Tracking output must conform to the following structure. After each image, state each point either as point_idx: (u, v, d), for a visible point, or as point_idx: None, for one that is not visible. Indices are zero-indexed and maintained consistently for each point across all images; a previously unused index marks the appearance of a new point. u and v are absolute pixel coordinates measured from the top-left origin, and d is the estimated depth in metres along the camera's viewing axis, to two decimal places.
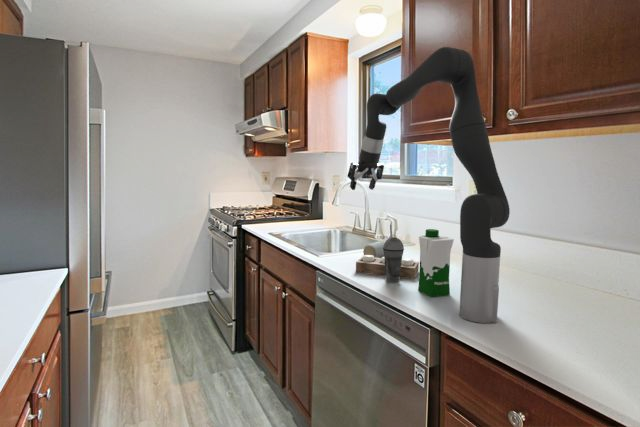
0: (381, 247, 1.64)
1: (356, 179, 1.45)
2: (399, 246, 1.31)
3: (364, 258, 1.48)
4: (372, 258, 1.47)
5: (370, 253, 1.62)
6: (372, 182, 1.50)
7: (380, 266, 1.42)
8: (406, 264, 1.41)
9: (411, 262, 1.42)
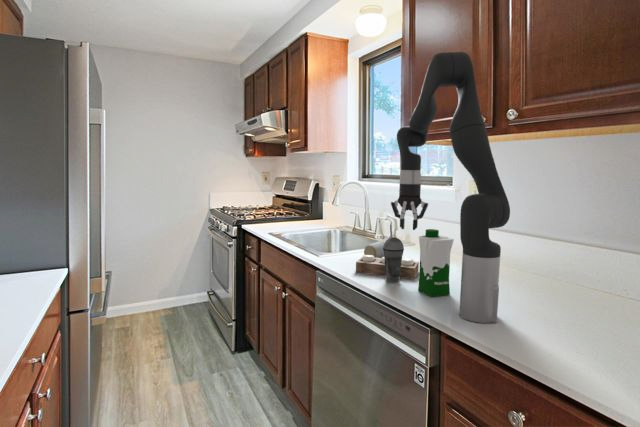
0: (382, 247, 1.63)
1: (402, 216, 1.41)
2: (399, 246, 1.31)
3: (364, 258, 1.48)
4: (372, 258, 1.47)
5: (371, 253, 1.62)
6: (413, 221, 1.41)
7: (380, 266, 1.42)
8: (406, 264, 1.41)
9: (411, 262, 1.42)
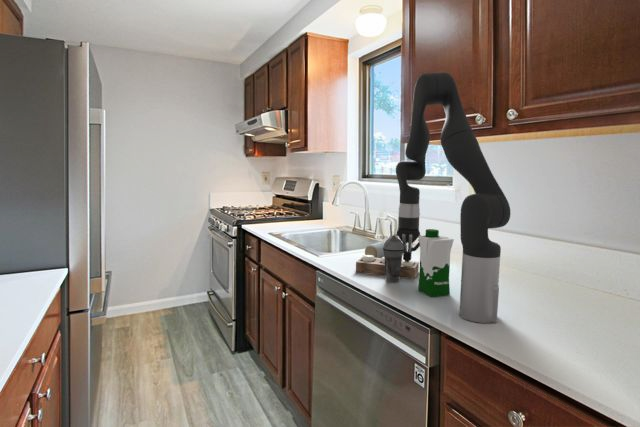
0: (382, 247, 1.63)
1: (405, 249, 1.42)
2: (399, 246, 1.31)
3: (364, 258, 1.48)
4: (372, 258, 1.47)
5: (371, 253, 1.62)
6: None
7: (380, 266, 1.42)
8: None
9: (411, 264, 1.42)
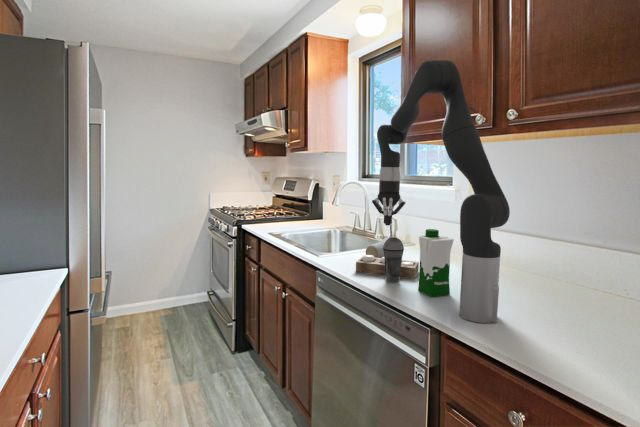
0: None
1: (385, 213, 1.44)
2: (399, 246, 1.31)
3: (364, 258, 1.48)
4: (372, 258, 1.47)
5: (372, 254, 1.61)
6: None
7: (380, 266, 1.42)
8: None
9: (411, 265, 1.42)
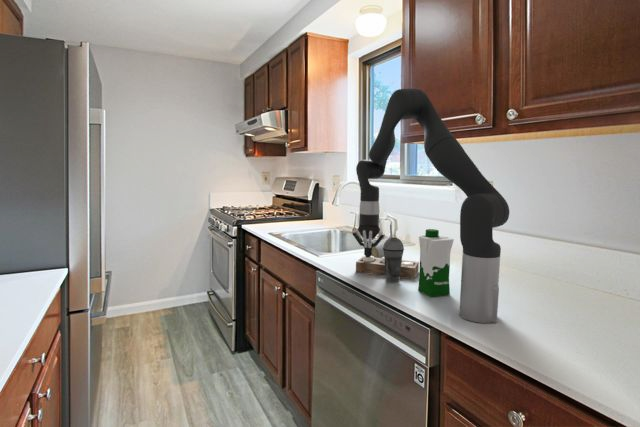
0: None
1: (366, 245, 1.48)
2: (399, 246, 1.31)
3: (364, 259, 1.48)
4: (372, 259, 1.47)
5: (373, 254, 1.61)
6: None
7: (380, 266, 1.42)
8: None
9: (411, 265, 1.42)
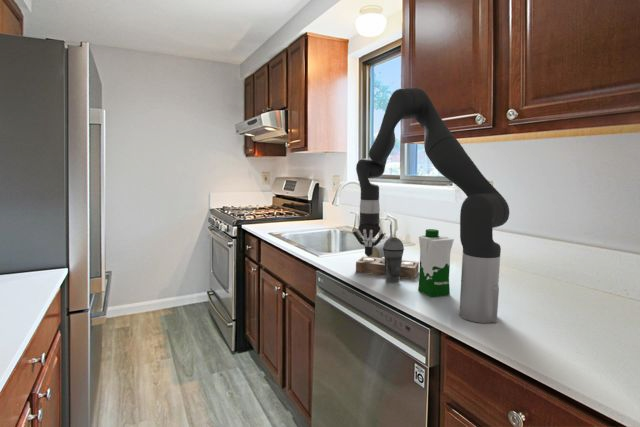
0: None
1: (366, 244, 1.47)
2: (399, 246, 1.31)
3: None
4: (372, 261, 1.48)
5: (373, 254, 1.61)
6: None
7: (380, 266, 1.42)
8: None
9: (411, 265, 1.42)
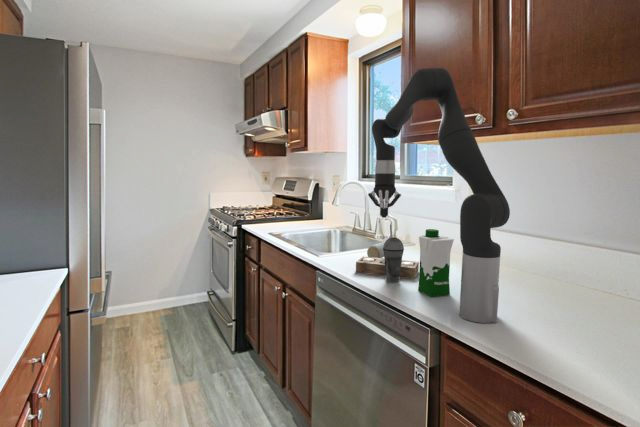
0: None
1: (382, 205, 1.47)
2: (399, 246, 1.31)
3: None
4: (372, 261, 1.48)
5: (374, 254, 1.61)
6: None
7: (380, 266, 1.42)
8: None
9: (411, 265, 1.42)
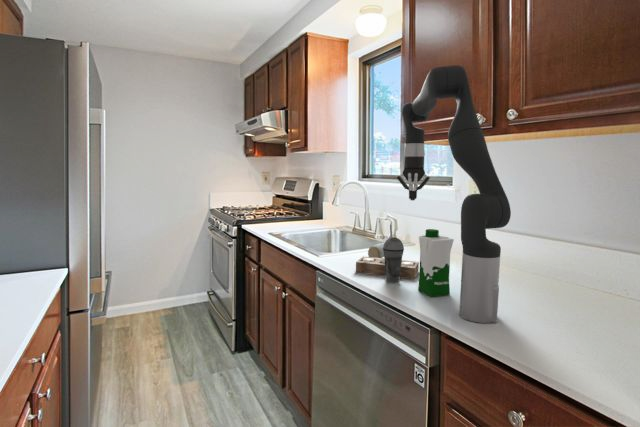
0: None
1: (410, 188, 1.50)
2: (399, 246, 1.31)
3: None
4: (372, 261, 1.48)
5: (375, 254, 1.60)
6: None
7: (380, 266, 1.42)
8: None
9: (411, 265, 1.42)
